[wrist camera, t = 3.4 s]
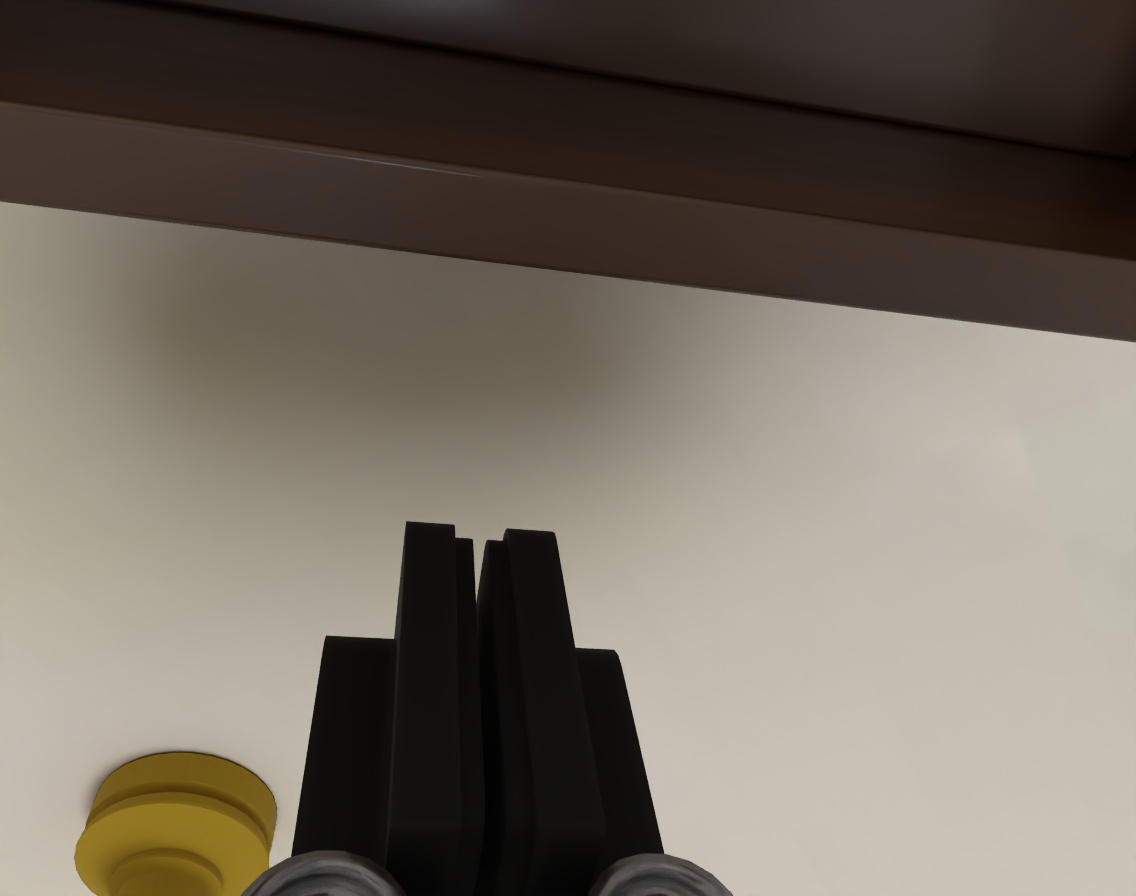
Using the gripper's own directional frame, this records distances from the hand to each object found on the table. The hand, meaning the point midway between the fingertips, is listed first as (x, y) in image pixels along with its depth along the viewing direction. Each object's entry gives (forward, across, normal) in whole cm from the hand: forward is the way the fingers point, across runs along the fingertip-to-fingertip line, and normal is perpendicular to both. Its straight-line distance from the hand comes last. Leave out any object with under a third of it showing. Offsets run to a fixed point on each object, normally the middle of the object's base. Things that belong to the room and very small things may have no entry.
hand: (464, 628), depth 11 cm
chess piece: (+7, +5, +12) cm, 14 cm away
